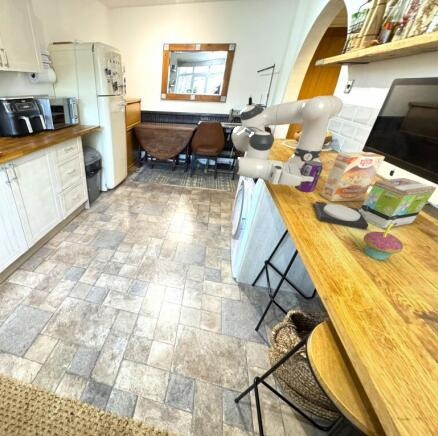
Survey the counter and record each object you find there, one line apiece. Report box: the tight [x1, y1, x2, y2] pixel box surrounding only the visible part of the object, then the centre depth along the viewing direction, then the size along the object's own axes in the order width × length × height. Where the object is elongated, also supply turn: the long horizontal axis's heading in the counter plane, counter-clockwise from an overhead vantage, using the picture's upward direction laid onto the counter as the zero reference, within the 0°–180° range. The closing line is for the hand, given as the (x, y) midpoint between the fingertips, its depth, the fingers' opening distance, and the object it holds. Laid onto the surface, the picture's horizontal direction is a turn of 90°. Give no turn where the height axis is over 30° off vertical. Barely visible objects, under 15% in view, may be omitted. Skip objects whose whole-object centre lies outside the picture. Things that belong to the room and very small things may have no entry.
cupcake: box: [363, 221, 404, 261], centre depth 68 cm, size 9×8×12 cm
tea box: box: [358, 177, 437, 229], centre depth 86 cm, size 15×10×15 cm, turn 107°
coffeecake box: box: [320, 151, 386, 203], centre depth 101 cm, size 15×7×20 cm, turn 95°
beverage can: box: [294, 161, 324, 194], centre depth 98 cm, size 7×7×12 cm
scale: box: [313, 201, 369, 231], centre depth 90 cm, size 14×14×3 cm
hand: (311, 176), depth 97 cm, fingers closed on beverage can, 6 cm apart
